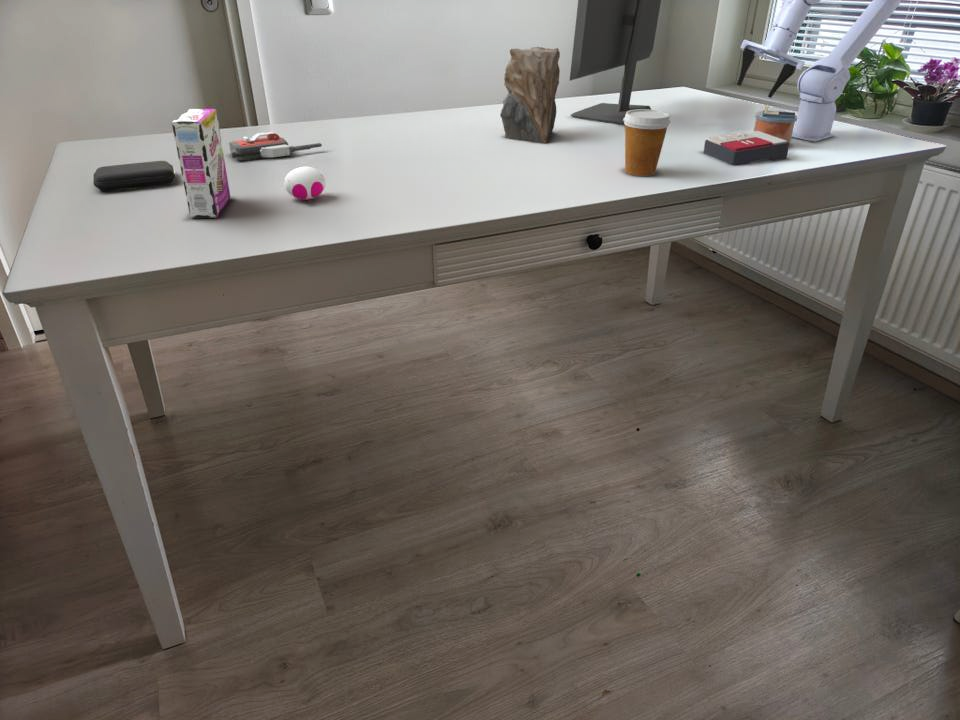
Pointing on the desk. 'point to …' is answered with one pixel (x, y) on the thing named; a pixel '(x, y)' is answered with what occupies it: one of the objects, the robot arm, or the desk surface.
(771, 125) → the tumbler
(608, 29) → the computer monitor
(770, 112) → the lid slider
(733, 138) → the dark grey flat box
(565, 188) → the desk surface
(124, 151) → the desk surface
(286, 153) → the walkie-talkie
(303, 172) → the stress ball
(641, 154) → the disposable coffee cup
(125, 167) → the carrying case
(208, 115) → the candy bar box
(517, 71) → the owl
